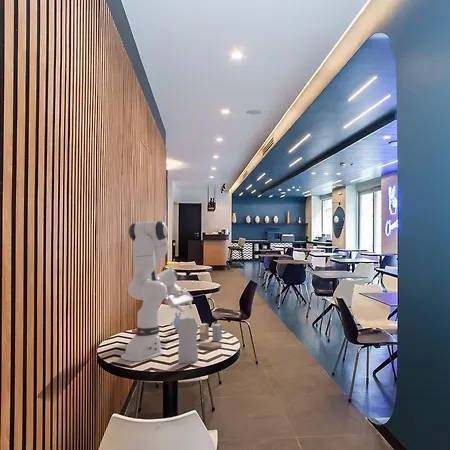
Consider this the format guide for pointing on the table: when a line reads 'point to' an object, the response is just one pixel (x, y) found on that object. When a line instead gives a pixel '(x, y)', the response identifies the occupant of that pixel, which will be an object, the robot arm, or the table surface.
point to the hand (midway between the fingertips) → (187, 309)
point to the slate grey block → (217, 332)
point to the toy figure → (176, 321)
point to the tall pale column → (187, 340)
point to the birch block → (204, 331)
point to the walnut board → (209, 346)
